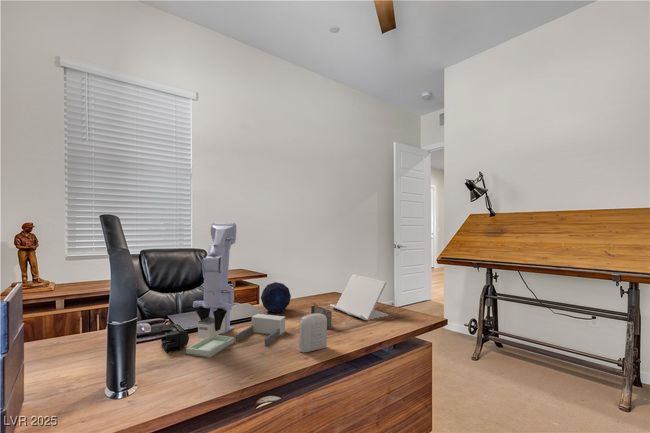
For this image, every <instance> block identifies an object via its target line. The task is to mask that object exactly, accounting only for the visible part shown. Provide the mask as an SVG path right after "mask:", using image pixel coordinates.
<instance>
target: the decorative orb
mask: <svg viewBox="0 0 650 433" xmlns="http://www.w3.org/2000/svg"><path fill="white" fill-rule="evenodd" d="M291 298H292V296H291V292H290V288H289V287H287V286H286V285H285V284H284V283H281V282H276V281H274V282H272V283H268V284H267V285H266V286H265V287H264V289H263V290H262V293H261V296H260V300H261V303H262V307H263V308H264V309H266V310H267V311H268V312H270V313H271V312H272V313H275V314H277V313H280V312H283V311H285V310H286V308H288V306H289V305H290V302H291Z"/></svg>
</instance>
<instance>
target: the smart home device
mask: <svg viewBox="0 0 650 433" xmlns="http://www.w3.org/2000/svg"><path fill="white" fill-rule="evenodd" d="M173 324H174V323H168V324H162V325H152V326H150V327H151V332H150V333H148V334H147V335H152V336H157V334H159V335H165V334H164V333H161V329H162V328H167V327H173ZM138 335H139V334H138V333H137V337H138Z"/></svg>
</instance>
